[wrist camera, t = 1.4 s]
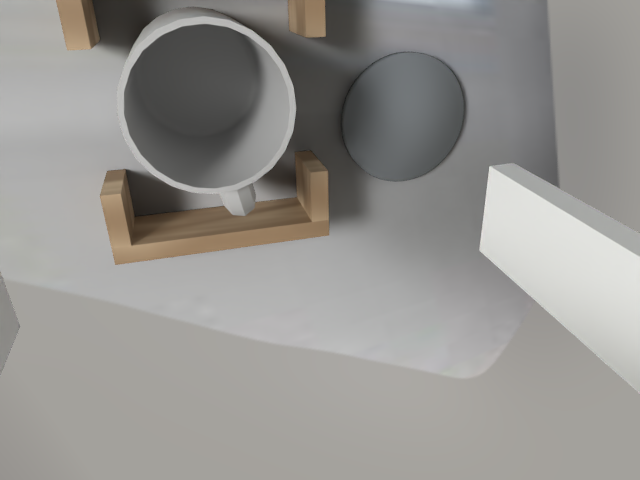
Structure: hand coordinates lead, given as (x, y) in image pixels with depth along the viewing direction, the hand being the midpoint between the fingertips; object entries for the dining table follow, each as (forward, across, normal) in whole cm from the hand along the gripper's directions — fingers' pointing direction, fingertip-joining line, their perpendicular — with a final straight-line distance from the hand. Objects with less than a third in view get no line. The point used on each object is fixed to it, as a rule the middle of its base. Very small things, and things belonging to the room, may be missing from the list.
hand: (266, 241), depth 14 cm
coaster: (+18, +12, -2) cm, 22 cm away
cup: (+19, 0, 0) cm, 19 cm away
